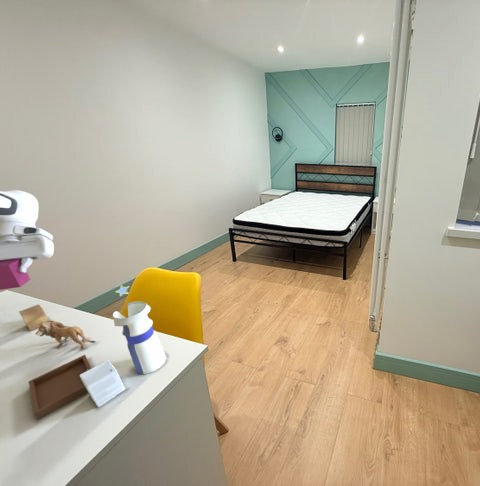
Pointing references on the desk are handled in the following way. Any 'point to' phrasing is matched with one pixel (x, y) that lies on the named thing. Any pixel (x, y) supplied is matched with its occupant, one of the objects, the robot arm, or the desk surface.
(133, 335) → the white milk jug
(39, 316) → the base block
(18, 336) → the desk surface
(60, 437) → the desk surface
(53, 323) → the lion figurine
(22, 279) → the top block
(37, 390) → the tray
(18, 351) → the desk surface
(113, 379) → the product box
